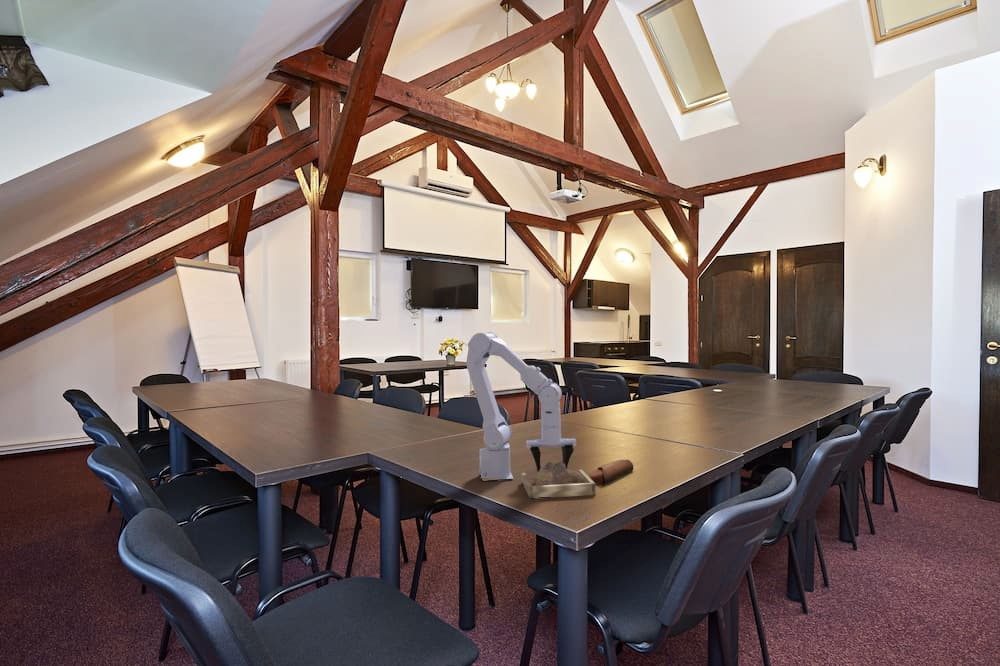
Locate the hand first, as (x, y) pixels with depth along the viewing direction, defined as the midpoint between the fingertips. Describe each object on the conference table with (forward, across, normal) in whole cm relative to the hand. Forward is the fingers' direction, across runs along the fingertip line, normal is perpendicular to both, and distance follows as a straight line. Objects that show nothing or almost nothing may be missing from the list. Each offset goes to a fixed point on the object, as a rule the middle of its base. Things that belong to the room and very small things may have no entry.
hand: (551, 471), depth 142 cm
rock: (+3, 0, +5) cm, 6 cm away
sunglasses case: (+4, -18, -2) cm, 18 cm away
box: (+3, 0, +7) cm, 7 cm away
